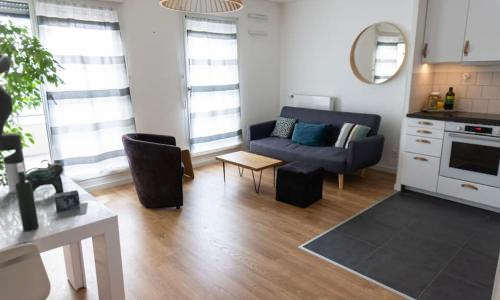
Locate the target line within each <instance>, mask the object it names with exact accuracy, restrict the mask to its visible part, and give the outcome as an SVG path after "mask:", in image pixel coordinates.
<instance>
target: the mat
mask: <svg viewBox="0 0 500 300" xmlns="http://www.w3.org/2000/svg"><path fill="white" fill-rule="evenodd" d="M88 205H89V202H80V208H76V209H71V210H66V211H62V212H58V216H57V218H58V219H60V218H67V217H74V216H81V215H86V214H87V211H88V210H87V209H88Z"/></svg>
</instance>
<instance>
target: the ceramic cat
mask: <svg viewBox="0 0 500 300" xmlns="http://www.w3.org/2000/svg"><path fill="white" fill-rule="evenodd" d="M43 162H48V163H47V165H48V166H47V167H33V168H30V169H28V170H26V173H25V174H27V175H26V176H25V180H28V181H30V182H31V184H32V190H33V196H34V193H35V191H36V190H37V189H38V188H39V187H42V186H47V185H48V186H49V185H50V186H51V185H52V186H53V188H54V190H55V194H58V193H64V186H63V181H62V177H61V174H62V173H63V172H64V171H63V170H64V169H63V166H62V164H61V163H60V161H59V160H56V162H54V163H50V161H49V160H48V159H44V160H41V164H42V163H43ZM34 169H35V170H34ZM31 170H32V171H31Z"/></svg>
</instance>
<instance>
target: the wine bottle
mask: <svg viewBox="0 0 500 300" xmlns="http://www.w3.org/2000/svg"><path fill="white" fill-rule="evenodd" d="M17 170H18V174H19V179H20V181H19V182H17V183H16V185H15V188H16V193H15V194H16V197H17V198H16V199H17V203H18V209H19V213H20V219H21V225H22V230H23V231H24V232H32V231H35V230H38V228H39V227H40V226H39V220H38V214H37V207H36V203H35V197H34V196H33V190H32V184H31V182H30V181H28V180H25V175H24V168H23V163H22V164H21V163H19V164H17Z"/></svg>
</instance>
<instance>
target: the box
mask: <svg viewBox="0 0 500 300" xmlns="http://www.w3.org/2000/svg"><path fill="white" fill-rule="evenodd" d="M79 195H80V193H79V190H78V189H76V190H72V191H63V192H61V193H58V194H57V193H54V194H53V196H54V201H55V202H54V203H55V211H56V212H57V213H60V212H62V211H66V210H71V209H76V208H80V203H81V202H80V196H79Z"/></svg>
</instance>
